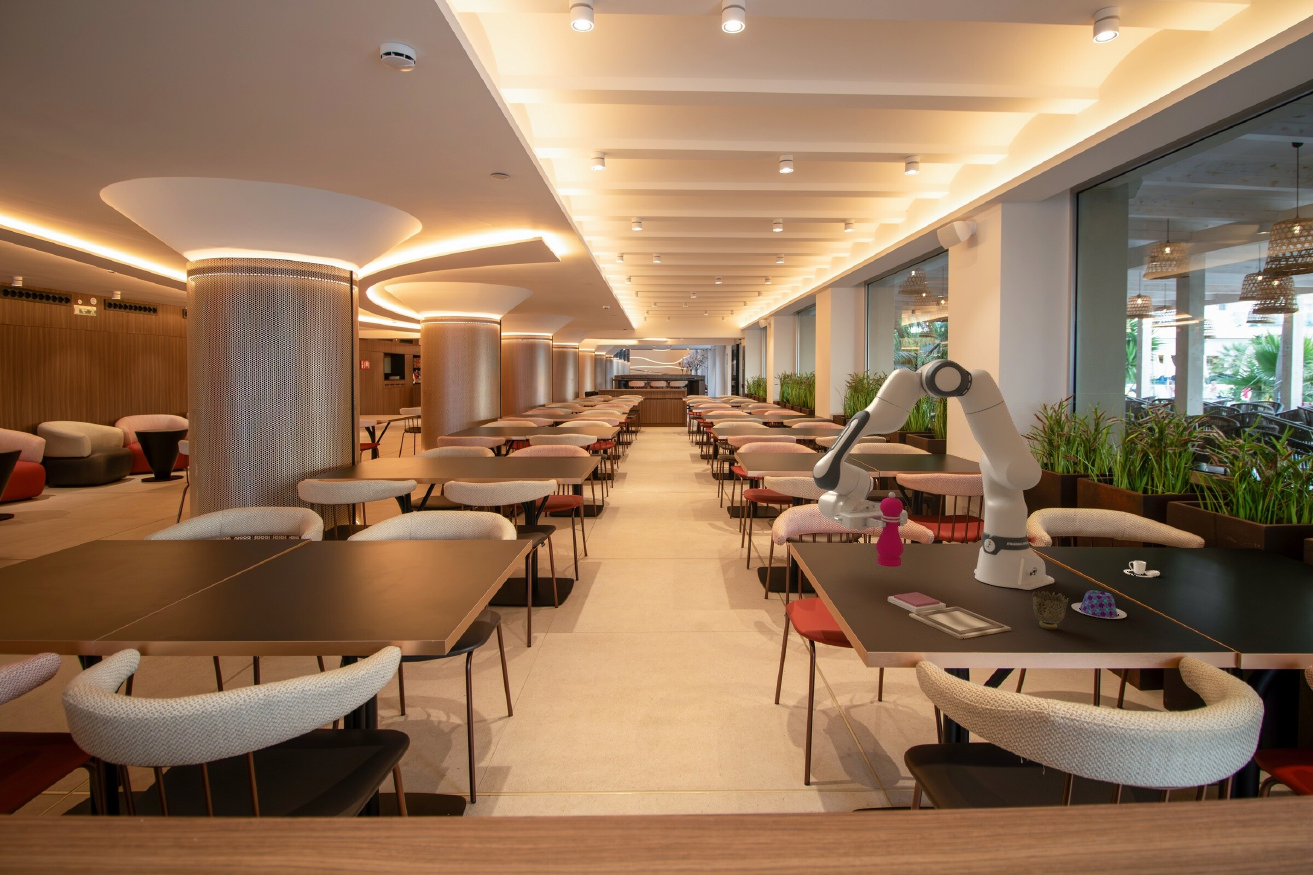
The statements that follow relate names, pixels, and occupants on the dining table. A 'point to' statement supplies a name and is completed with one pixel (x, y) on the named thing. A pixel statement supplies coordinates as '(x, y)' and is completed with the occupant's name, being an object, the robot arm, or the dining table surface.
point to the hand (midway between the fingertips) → (893, 524)
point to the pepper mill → (890, 533)
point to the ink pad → (916, 602)
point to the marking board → (959, 622)
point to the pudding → (1099, 605)
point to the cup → (1049, 608)
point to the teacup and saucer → (1142, 569)
